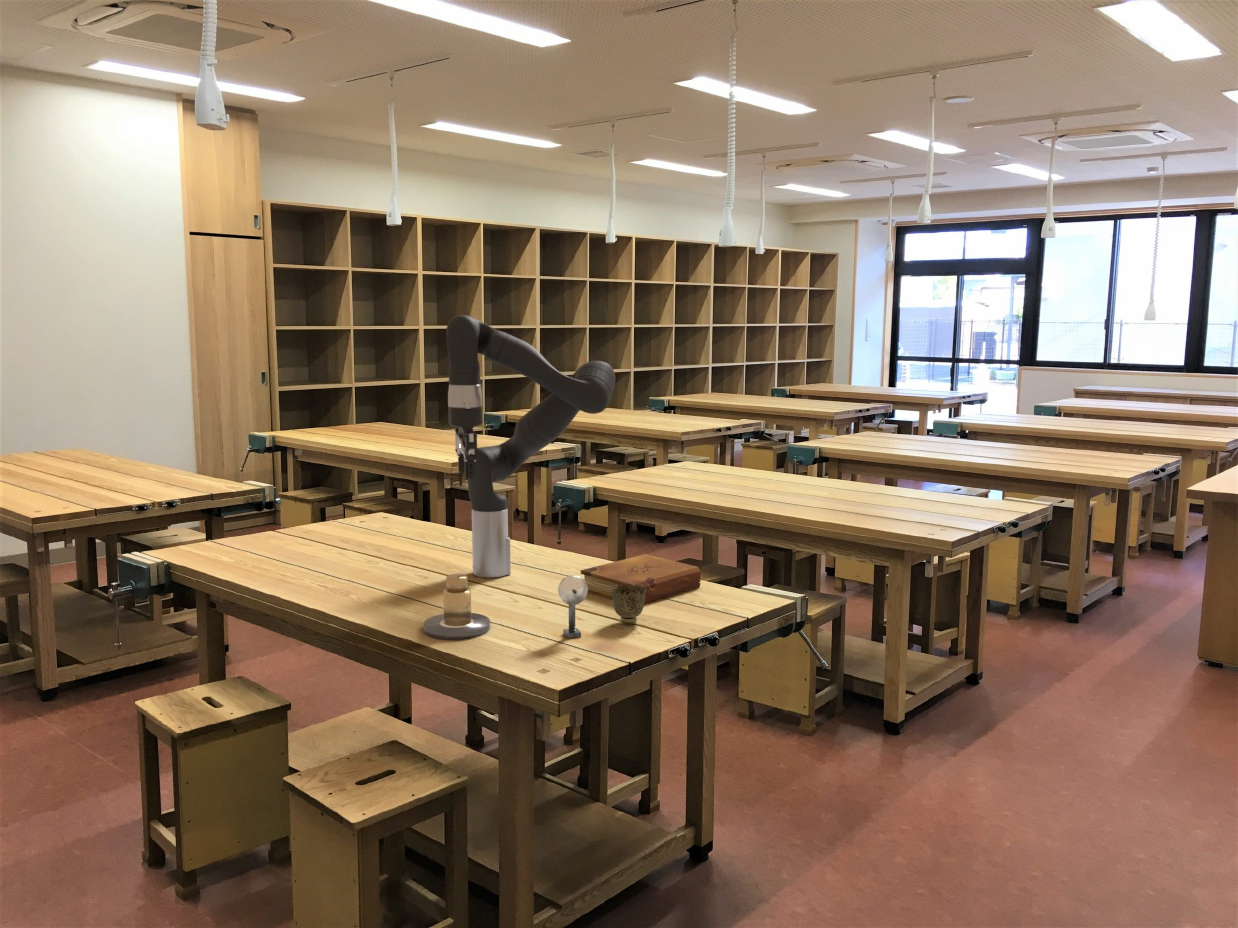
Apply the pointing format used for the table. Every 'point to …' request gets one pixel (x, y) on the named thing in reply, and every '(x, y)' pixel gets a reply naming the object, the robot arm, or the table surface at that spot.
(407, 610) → the table surface
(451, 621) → the weight
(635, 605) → the cup
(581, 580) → the dial gauge
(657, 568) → the diary
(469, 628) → the turntable
